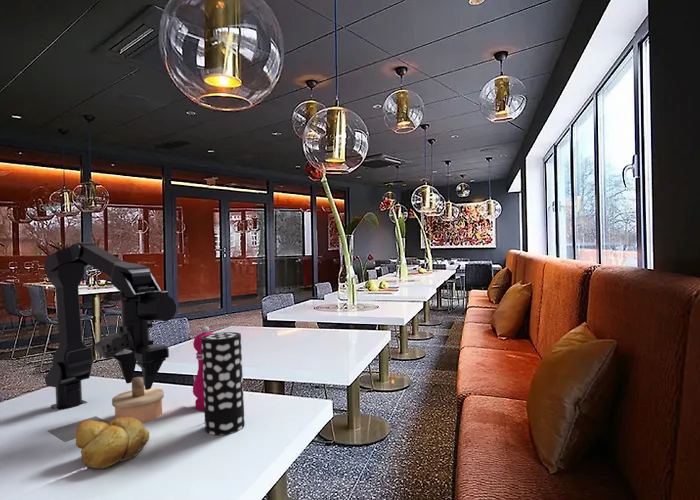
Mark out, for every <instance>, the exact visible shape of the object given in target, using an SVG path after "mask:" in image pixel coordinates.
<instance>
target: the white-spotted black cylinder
mask: <svg viewBox="0 0 700 500" xmlns="http://www.w3.org/2000/svg"><path fill="white" fill-rule="evenodd" d="M201 342H202V365H203V389H204V410H203V411H204V431H205V432H206V433H207V434H209V435H211V436H212V435H213V436H224V435H228V434H229V435H230V434H233V433H236V432H238V431H241V430H242V429H243V428H245V426H246V424H245V403H244V402H245V401H244V379H243V377H244V375H243V355H242V350H243V349H242V334H241V333H239V332H232V331H231V332H230V331H229V332H227V331H226V332H216V333H214V334H209V335H205V336H203V337H202V338H201Z"/></svg>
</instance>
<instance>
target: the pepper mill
mask: <svg viewBox="0 0 700 500" xmlns="http://www.w3.org/2000/svg"><path fill="white" fill-rule="evenodd" d="M209 334H215V333H214V332H212V331H211V332H210V328H209V326H208V325H204V326H203V327H202V328H201V332H200V333H199V334H197V335H196V336H195V337H194V338H193V339H194V340H193V343H192V346H193V349H194V350H195V351H196V354H195V356H196V357H195V359H196V360H197V362H198V366H197V367H198V369H197V373H196V377H195V379H194V381H193V386H192V394H193V396H194V397H196V399H195V402H194V403H195V405H194V406H195V409H196V410H198V411H204V389H203V365H202V342H201V338H202V337H203V336H205V335H209Z"/></svg>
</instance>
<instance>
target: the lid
mask: <svg viewBox="0 0 700 500" xmlns="http://www.w3.org/2000/svg"><path fill="white" fill-rule="evenodd" d="M164 397H165V391H164V390H163V389H162V388H157V387H151V389H148V390H146V389H145V386H144V381H143V376H136V377H133V378H132V382H131V390H128V391H125V392H122V393H119V394H116V395H115V396H113V398H111V405H112V406H113V407H114V408H115V407H117V408H134V407H140V406H145V405H149V404H152V403H155V402H157V401H159V400H161V399H162V400H163V399H164Z"/></svg>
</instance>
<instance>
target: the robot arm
mask: <svg viewBox="0 0 700 500" xmlns="http://www.w3.org/2000/svg"><path fill="white" fill-rule="evenodd" d="M88 266H91V267H92V268H94V269H96V270H97V271H99V272H101V273H102V274H104V275H106V276H108V278H109V280H110V284H111V285H112V286H113V287H115V288H116V289H117V291H118V292H119V294H117V295H116V296H115V297H114V301H115V302H120V309H121V310H120V312H121V324H119V325H118V326H117V327H116V328H117V331H116V333H113V334H111V335H108V336H107V337H105V338H103V339H101V340H99V341H98V342H96V343H94V347H95V349H96V351H97V354H98V355H99V357H100V358H104V359H105V360H106V359H107V360H108V359H111V358H112V360H114V361H116V362H117V363H118V365H119V367H120V370H121V373H122V375H123V378H124V380H125V381H124V382H125V383H126V384H128V385H129V384H132V379H133V378H134V374H135V370H136V367H137V366H138V367H139V368H141V369H140V370H141V374H142V377H143V381H144V388H145V389H146V390H148V389H151V388H153V387H152V386H153V385H154V382H155V379H156V378H157V375H158V373H159V371H160V369H161V367H162V365H163V363H164V362H165V361H166V360H167V358H169V357H170V350H169V349H170V348H169V347H167V346H166V345H165V344H164V345H163V344H159V343H156V344H154V339H150V329H151V328H153V322H169V321H171V320H172V319H173V318H174V316H175V314H176V312H177V304H176V302H175V300H174V298H172V297H171V296H170V295H169V291H168V290H161V288H160V286H159V284H158V283H157V281H156V279H155V277H154V276H153V274H152V272H151V269H150V268H149V267H148V266H146V265H143V264H139V263H134V262H127V261H124V260H122V259H120V258H119V257H117V256H116V255H113V254H112V253H110V252H108V251H106V250H104V249H102V248H101V247H99V246H98V245H97V244H96V243H94V242H91V241H90V242H76V243H73V244H72V245H70V246H68V247H66V248H62V249H60V250H57V251H55V252H52V253H50V254H49V255H48V257H46V258H45V261H44V269H45V272H46V277H47V280H48V281H49V282H50V283H51V285H52V286H53V287H54V288H55V298H56V311H57V313H56V315H57V325H58V343H59V345H58V346H57V348H56V350H55V351H54V354H53V355H52V366H51V367H50V369H49V370H48V372H47V374H46V376H45V377H44V382H45V385H46V386H47V387H51V388H55V403H54V404H53V403H52V404H51V405H50V407H51V408H53V409H57V410H58V411H62V410H66V409H70V408H73V407H74V408H75V407H77V406H81V405H84V404H85V405H86V404H87V403H88V401H86V400H84V399H83V393H82V391H83V390H82V389H83V388H82V387H83V386H82V381H83V380H88V379H90V376H91V373H92V367H93V363H94V359H93V349H92V348H91V346H89V347H88V346H87V345H86V344H85V343H84V341H83V337H82V336H83V335H82V321H81V320H82V319H81V308H80V305H81V304H80V294H79V286H80V284H81V282H82V280H83V279H84V277H85V268H87V267H88ZM151 321H152V322H151Z"/></svg>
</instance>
